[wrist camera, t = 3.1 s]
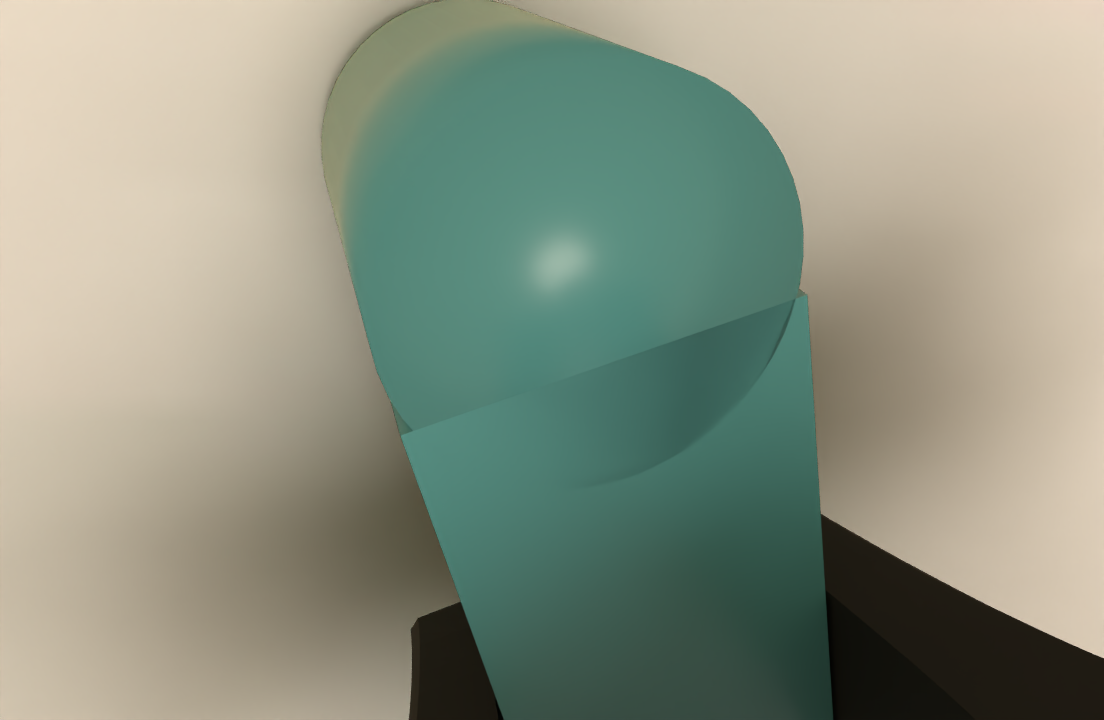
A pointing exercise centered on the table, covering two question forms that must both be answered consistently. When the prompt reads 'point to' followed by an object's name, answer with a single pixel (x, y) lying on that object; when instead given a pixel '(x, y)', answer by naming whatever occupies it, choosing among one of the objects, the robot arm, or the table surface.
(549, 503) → the teal dome-capped pillar
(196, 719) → the table surface
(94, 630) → the table surface
